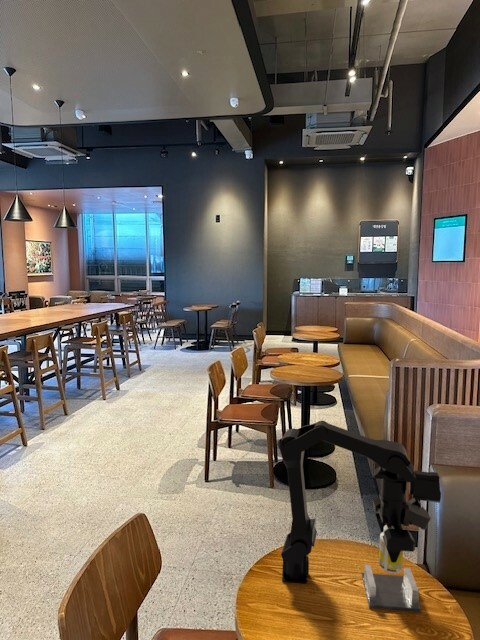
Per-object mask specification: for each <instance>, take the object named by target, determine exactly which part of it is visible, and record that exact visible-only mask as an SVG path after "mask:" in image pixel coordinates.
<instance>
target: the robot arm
mask: <svg viewBox="0 0 480 640" xmlns="http://www.w3.org/2000/svg"><path fill="white" fill-rule="evenodd" d="M321 442H325V443H328V444H331V445H334V446H336V447H339V448H342V449H344V450H347V451H350V452H352V453H354V454H358V455H360V456H363V457H365V458H367V459H369V460H371V461H372V462H373V463H374V464H376V465H377V466H378V467H376V468H374V470H373V472H374V473H373V474H374V478H376V479H380V480H381V492H379V497H378V496H377V497H375V498H374V499H373V500H372V508H373V511H374V513H375V515H374V516H375V518H376V521H377V523H378V524H377V525H378V527H379V531H380V534H381V533H382V532H383V530H384V526H385V525H386V526H387V528H392V529H387V530H386V531H385V532H384V536H383V540H384V543H385V545H386V548H387V551H388V554H389V557H390V559H391V562H396V561H397V559H398V557H399V554H400V552H401V551H403V552H412V553H413V552H415V550H416V541H415V538H414V537H413V535H412V533H411V532H410V531H409V530H408V529H403V526H404V527H409V526H410V524H411V525H413V526H415V527H418V528H420V529H421V530H423V531H425V530H427V527H428V526H429V523H430V521H431V520H432V519H431V516H430V514H429V512H428V511H427V510H426V509H425V508H424V506H422V505H421V501H425V502H430V503H431V502H432V503H436V504H437V503H438V504H439V503H441V499H442V492H441V485H440V474H439V472H434V471H429V472H428V471H421V470H420V471H419V470H415V467H414V464H412V462H411V461H410V459H409V458H408V457H409V456H408V454H407V449H406V448H405V446H404V445H403V444H402V443H400V442H396V441H391V440H388V439H387V440H386V439H373V438H369V437H366V436H364V435H361V434H359V433H356V432H353V431H350V430H348V429H345V428H342V427H339V426H336V425H334V424H330V423H329V422H327V421H325V420H318V421H316V422H314V423H312V424H307V425H304V426H301V427H299V428H289V429H287V430H286V431H285V433H284V434H283V436H282V438H281V441H280V443H279V451H280V455H281V459H282V462H283V464H284V465H285V467H286V470H287V480H288V489H289V501H290V509H291V527H290V532H289V533H288V534H287V535H286V537H285V540H284V543H283V547H282V551H281V553H280V555H281V558H282V569H281V570H282V571H281V572H282V574H281V575H282V576H281V579H282V580H281V581H282V582H283V583H285V582H286V583H296V584H297V583H298V584H307V583H308V577H309V575H310V574H309V573H310V572H309V569H310V568H309V567H310V564H309V562H310V561H309V556H308V555H309V554H310V553H312V550H313V549H312V548H314V547H315V543H316V539H317V533H318V531H317V529H316V518H310V516H309V514H308V504H307V494H306V486H305V485H306V483H305V475H304V474H305V473H304V457H305V451H307V450H309V449H310V448H312V447H313V446H315V445H316V444H318V443H321ZM407 483H408V494H409V495H411V497H412V498H411V499H410V500H408V501H406V500H407Z"/></svg>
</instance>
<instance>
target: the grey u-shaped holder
mask: <svg viewBox="0 0 480 640" xmlns="http://www.w3.org/2000/svg"><path fill="white" fill-rule="evenodd" d="M363 567H364V569H363V571H364V572H362V574H361V578H362V582H363V586H364V591H365V594H366V600H367V604H368V608H369V609H374V610H385V611H386V610H387V611H393V612H395V611H397V612H404V613H405V612H407V613H418V614H421V613H422V607H421V605H420V601H419V597H420V596H419V594H420V591H419V588H418V585H417V582H416V580H415V577H414V575H413V573H412V569H411V568H410V567H403V575H392V574H390V575H389V574H381V573H380V574H379V573H373V571H372V566H371V564H364V566H363Z"/></svg>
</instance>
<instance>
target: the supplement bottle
mask: <svg viewBox="0 0 480 640" xmlns="http://www.w3.org/2000/svg"><path fill="white" fill-rule="evenodd" d="M387 529H392V528H387V526H386V525H385V526H384V530H383V532H382V533H381V532H380V534H379V553H378V554H379V555H378V564H379V567H380V568H381V570H383V571H384V572H386V573H388V574H395V575H396V574H399V573H401V571H402V570H403V563H404V562H403V561H404V560H403V558H404V551H401V552H400V554H399V557H398V559H397V561H396V562H391V559H390V557H389V554H388V551H387V548H386V545H385V543H384V540H383V536H384V532H385V531H386V530H387Z"/></svg>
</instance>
